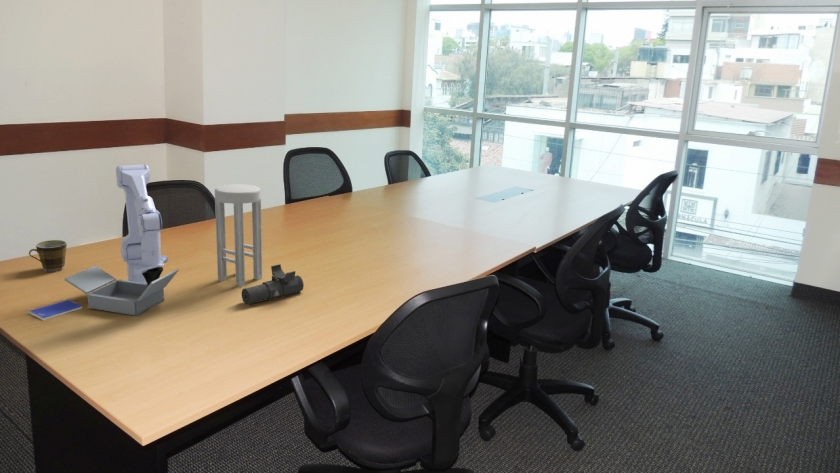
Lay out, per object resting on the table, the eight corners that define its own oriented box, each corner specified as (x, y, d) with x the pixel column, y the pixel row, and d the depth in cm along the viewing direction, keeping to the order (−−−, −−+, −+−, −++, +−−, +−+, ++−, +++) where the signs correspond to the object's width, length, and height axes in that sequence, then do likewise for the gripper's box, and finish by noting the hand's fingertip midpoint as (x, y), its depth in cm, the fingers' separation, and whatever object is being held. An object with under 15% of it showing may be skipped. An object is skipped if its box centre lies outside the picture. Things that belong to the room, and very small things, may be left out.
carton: (119, 292, 224) (118, 279, 222) (165, 299, 220) (164, 286, 218) (87, 308, 209) (86, 294, 208) (136, 316, 205) (135, 302, 204)
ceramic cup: (61, 263, 249) (58, 238, 247) (74, 269, 244) (71, 243, 241) (25, 271, 239) (22, 245, 237) (38, 277, 234) (35, 251, 231)
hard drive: (42, 317, 199) (81, 305, 210) (28, 310, 204) (67, 299, 214) (43, 321, 200) (82, 309, 210) (29, 314, 204) (68, 303, 214)
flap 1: (116, 278, 222) (115, 280, 222) (95, 265, 222) (94, 266, 223) (86, 292, 209) (86, 294, 209) (64, 278, 209) (64, 279, 209)
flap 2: (177, 268, 215) (178, 269, 215) (164, 285, 218) (165, 287, 218) (151, 282, 201) (152, 283, 201) (137, 300, 205) (138, 301, 205)
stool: (240, 289, 232) (237, 194, 223) (209, 280, 240) (205, 188, 230) (270, 278, 245) (268, 187, 236) (240, 269, 253) (237, 181, 243)
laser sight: (238, 300, 223) (237, 273, 220) (293, 286, 238) (293, 261, 236) (253, 309, 216) (253, 281, 214) (309, 294, 232) (309, 268, 229)
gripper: (147, 258, 199) (149, 299, 203) (175, 245, 212) (176, 283, 216) (127, 254, 200) (129, 295, 204) (156, 241, 214) (158, 279, 218)
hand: (152, 288), depth 211 cm, fingers closed, pressing on flap 2
